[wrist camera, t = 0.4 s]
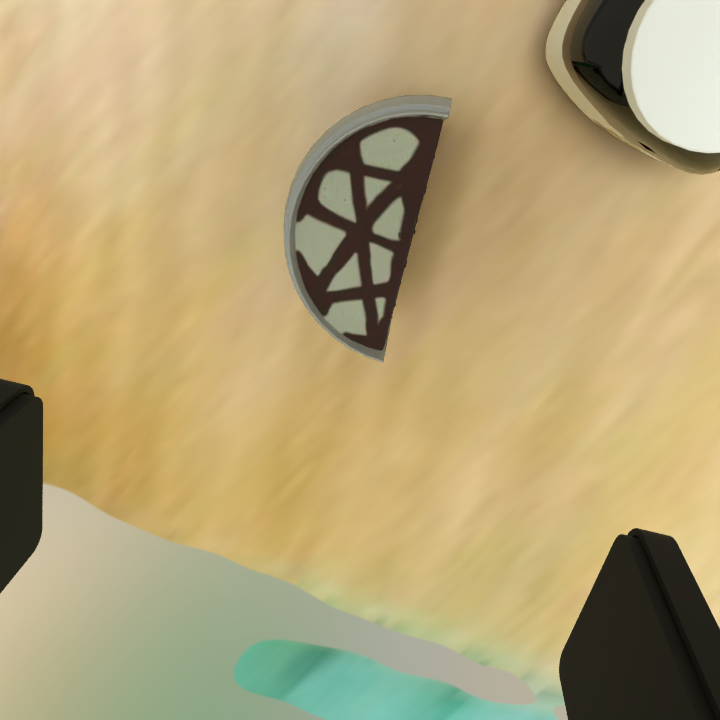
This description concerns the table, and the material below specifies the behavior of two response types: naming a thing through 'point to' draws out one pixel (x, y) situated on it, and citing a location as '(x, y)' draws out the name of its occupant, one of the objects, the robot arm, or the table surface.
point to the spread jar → (645, 74)
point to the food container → (361, 215)
